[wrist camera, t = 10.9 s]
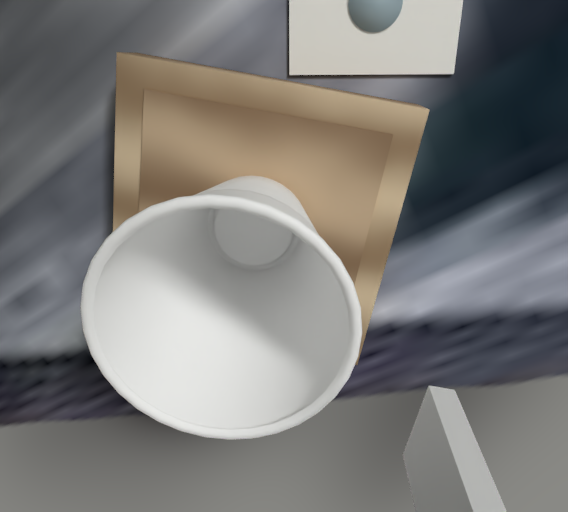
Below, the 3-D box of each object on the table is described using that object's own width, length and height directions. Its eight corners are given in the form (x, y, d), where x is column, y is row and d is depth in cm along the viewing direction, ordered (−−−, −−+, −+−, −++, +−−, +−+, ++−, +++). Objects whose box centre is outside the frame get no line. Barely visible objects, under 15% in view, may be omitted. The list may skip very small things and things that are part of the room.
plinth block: (137, 53, 26) (115, 52, 23) (416, 104, 26) (430, 110, 23) (128, 300, 32) (109, 323, 29) (353, 339, 32) (357, 366, 30)
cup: (216, 325, 29) (166, 468, 19) (135, 181, 25) (21, 263, 15) (366, 270, 27) (401, 398, 17) (300, 107, 23) (294, 144, 13)
